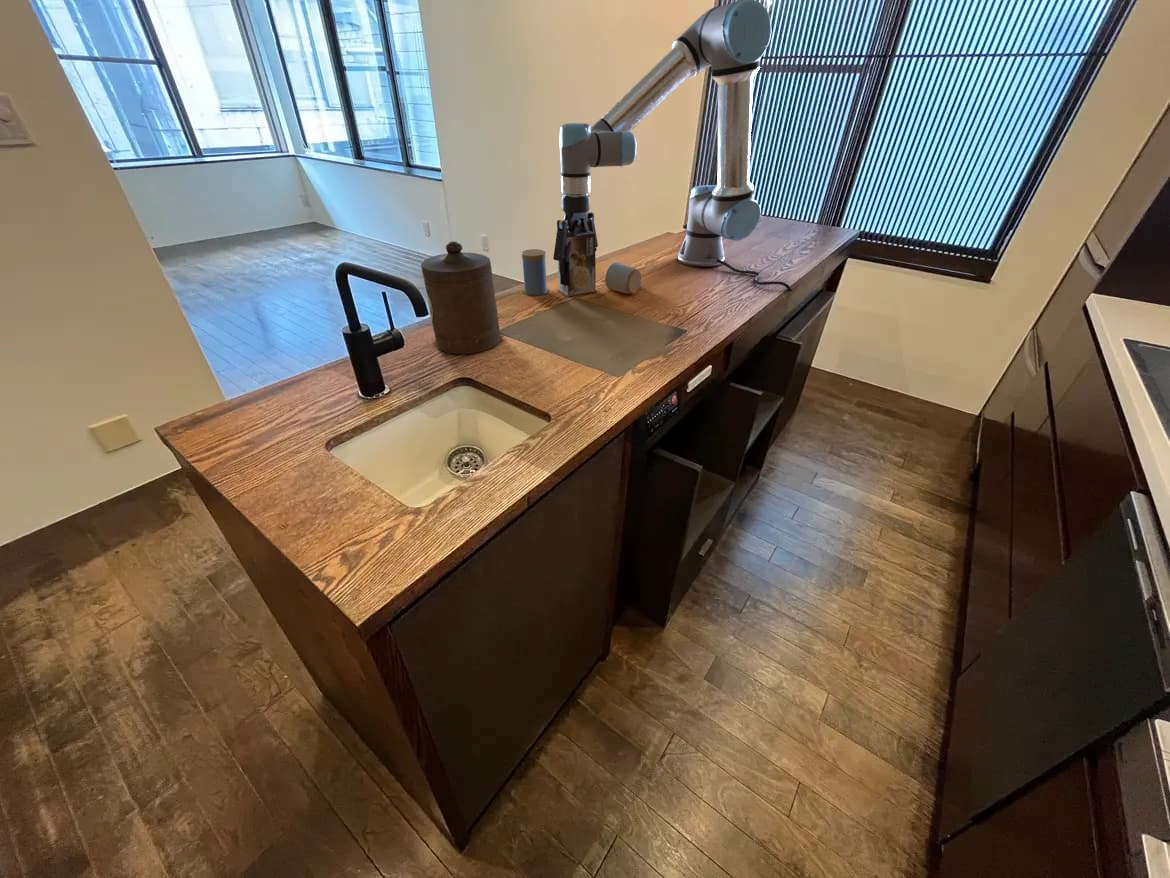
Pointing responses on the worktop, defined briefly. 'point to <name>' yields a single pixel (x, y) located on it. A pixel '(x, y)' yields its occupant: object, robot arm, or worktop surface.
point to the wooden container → (461, 300)
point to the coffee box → (580, 264)
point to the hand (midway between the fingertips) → (576, 279)
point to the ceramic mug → (623, 278)
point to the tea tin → (534, 271)
